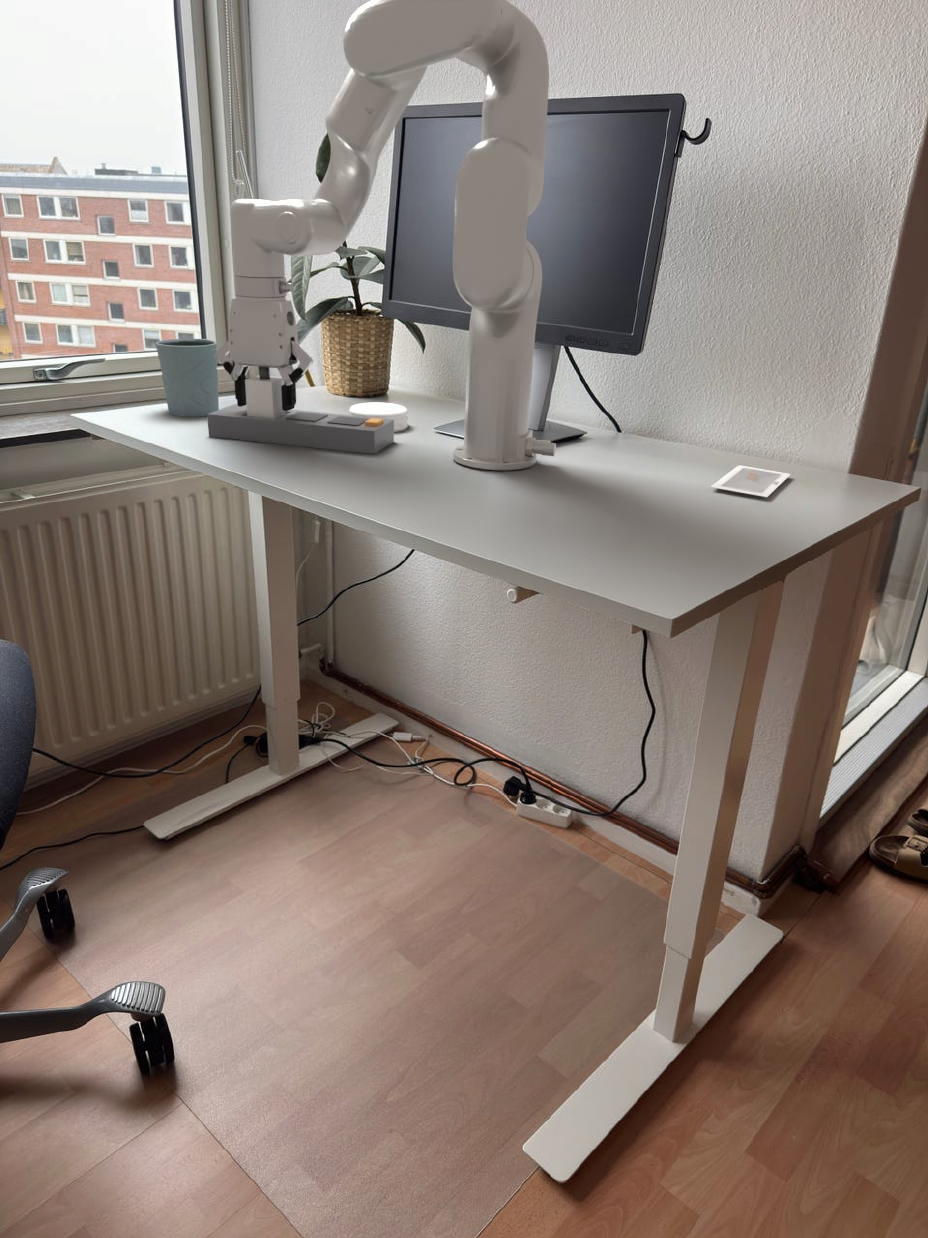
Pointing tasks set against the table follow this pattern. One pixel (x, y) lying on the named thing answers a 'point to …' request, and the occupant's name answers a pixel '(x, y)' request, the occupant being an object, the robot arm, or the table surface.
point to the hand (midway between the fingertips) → (266, 406)
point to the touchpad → (751, 481)
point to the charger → (264, 395)
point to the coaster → (382, 413)
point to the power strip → (304, 429)
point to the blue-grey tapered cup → (189, 376)
